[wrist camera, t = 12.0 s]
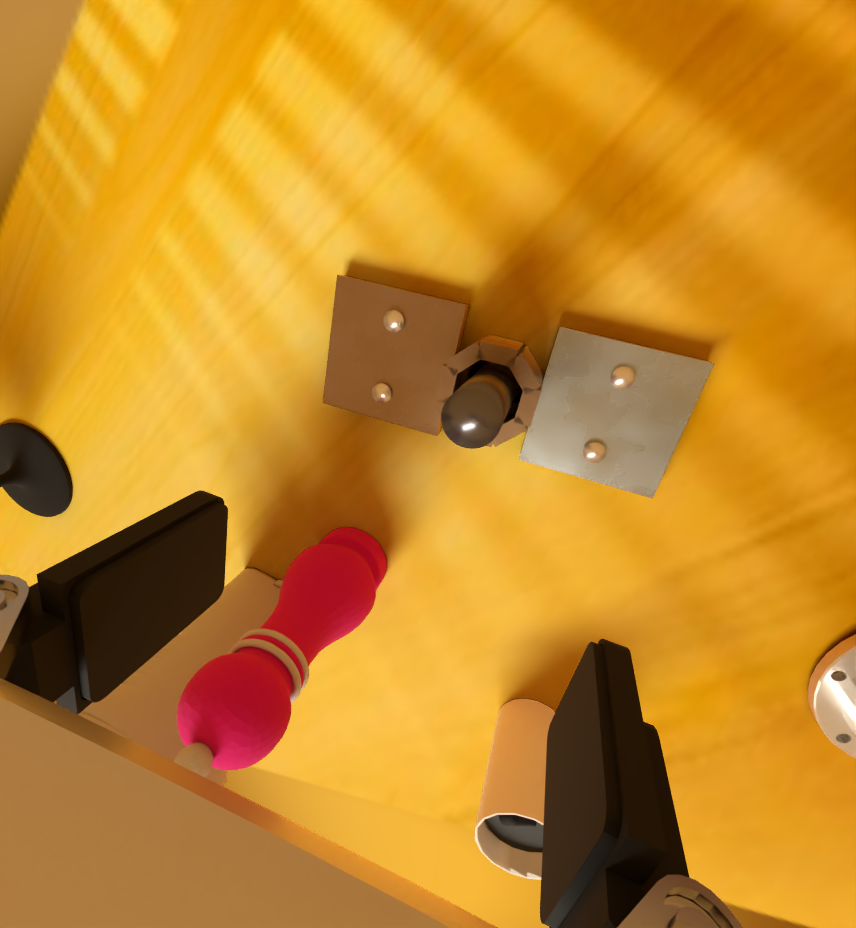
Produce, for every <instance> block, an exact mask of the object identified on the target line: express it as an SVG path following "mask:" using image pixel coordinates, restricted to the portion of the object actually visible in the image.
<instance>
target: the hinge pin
mask: <svg viewBox="0 0 856 928" xmlns="http://www.w3.org/2000/svg"><path fill="white" fill-rule="evenodd" d="M518 386H519V384H518V382H517V380H516V378H515V377H514V375H513V373H512V371H511V370H510V368H509V366H505V365H501V364H497V363H493V362H490V363H487V364H485V365H484V366H483V367H482V368H481V369H479V370H478V371H477V372H476V373H475V374H474V375H473V376H472V377H471V378H470V379H469V380H467V381H466V382H465V383H464V384H463V385H462V386H461V387H460V388H459V389H458V390H457V391H455V392H454V393H453V394H452V395H451V396H450V397H449V398H448V399H447V400H446V402H445V404H444V406H443V408H442V412H441V423H442V427H443V429H444V431H445V433H446V435H447V436H448V437H449V438H450V440H452V441H453V442H454V443H456V444H457V445H459V446H462V447H465V448H480V447H483V446H486V445H487V444H489V443H490V442H492V441H493V440H494V439H495V438H496V436H497V435H498V433H499V431H500V429H501V427H502V424H503V422H504V420H505V418H506V415H507V413H508V411H509V409H510V406H511V404H512V402H513V399H514V397H515V395H516V393H517V390H518Z"/></svg>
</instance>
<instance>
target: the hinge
mask: <svg viewBox="0 0 856 928" xmlns="http://www.w3.org/2000/svg"><path fill="white" fill-rule="evenodd" d="M468 309H469V305H468V304H464V303H459V302H455V301H451V300H446V299H442V298H438V297H434V296H429V295H425V294H421V293H417V292H412V291H408V290H404V289H400V288H395V287H391V286H387V285H383V284H378V283H374V282H370V281H366V280H361V279H357V278H353V277H349V276H343V275H337V282H336V291H335V300H334V308H333V317H332V326H331V335H330V343H329V352H328V361H327V370H326V379H325V387H324V396H323V403H325V404H329V405H332V406H336V407H339V408H342V409H346V410H349V411H353V412H356V413H360V414H363V415H367V416H370V417H373V418H377V419H380V420H384V421H387V422H391V423H394V424H398V425H401V426H405V427H408V428H411V429H415V430H418V431H422V432H425V433H429V434H432V435H436V436H437V435H438V434H439V433H440V431H441V427H442V423H441V412H442V408H443V406H444V404H445V402H446V400H447V399H448V398H449V397H450V396H451V395H452V394H453V393H454V392H455V391H457V390H458V389H459V388H460V387H461V386H462V385H463V384H464V383H465V382H466V381H467V377H468V373H469V369H470V366H471V365H472V364H474V363H476V362H477V361H479V360H481V359H482V360H486V361H490V362H493V363H497V364H501V365H505V366H509V368H510V370H511V371H512V373H513V375H514V377H515V378H516V380H517V382H518V384H519V385H520V387H521V389H522V391H523V393H522V396H521V399H520V402H519V403H518V404H516V405H514V406H512V407H510V409H509V411H508V413H507V415H506V418H505V420H504V422H503V424H502V427H501V429H500V431H499V433H498V435H497V436H496V438H495V439H494V440H493V441H492V442H490V443H489V444H487V445H486V446H489V447H491V446H492V444H494V445H495V447H496V446H498V445H500V444H501V443H503V442H505V441H507V440H509V439H511V438H513V437H515V436H517V435H519V434H521V433H523V432H525V431H527V434H526V437H525V440H524V443H523V446H522V450H521V453H520V457H519V460H522V461H525V462H529V463H532V464H536V465H539V466H542V467H546V468H549V469H553V470H556V471H560V472H563V473H567V474H570V475H573V476H577V477H580V478H584V479H587V480H591V481H594V482H598V483H601V484H605V485H608V486H611V487H615V488H618V489H622V490H625V491H629V492H632V493H636V494H639V495H642V496H646V497H649V498H653V496H654V494H655V492H656V490H657V487H658V485H659V483H660V481H661V479H662V477H663V474H664V472H665V470H666V468H667V466H668V463H669V461H670V459H671V457H672V455H673V453H674V450H675V448H676V446H677V444H678V442H679V439H680V437H681V435H682V433H683V431H684V429H685V426H686V424H687V422H688V420H689V418H690V415H691V413H692V411H693V409H694V407H695V405H696V402H697V400H698V398H699V396H700V394H701V391H702V389H703V387H704V385H705V383H706V381H707V378H708V376H709V374H710V372H711V370H712V367H713V365H714V363H712V362H709V361H706V360H702V359H698V358H693V357H689V356H685V355H681V354H676V353H672V352H668V351H664V350H659V349H655V348H651V347H647V346H642V345H638V344H634V343H630V342H625V341H621V340H617V339H612V338H608V337H604V336H600V335H595V334H591V333H587V332H583V331H578V330H574V329H570V328H566V327H561V326H560V327H559V331H558V334H557V337H556V340H555V343H554V347H553V350H552V353H551V356H550V359H549V363H548V366H547V369H546V372H545V376H544V378H543V373H542V371H541V369H540V367H539V365H538V364H537V362H536V360H535V358H534V356H533V355H532V353H531V351H530V349H529V347H528V346H527V345H526V346H525V347H523V344H524V343H523V342H519V341H515V340H511V339H507V338H503V337H499V336H495V335H490V336H488V335H487V336H486V337H484V338H482V339H480V340H478V341H476V342H475V343H473V344H472V345H470V346H468V347H467V348H465V349H464V350H462V351H461V352H459V349H460V344H461V340H462V336H463V331H464V327H465V323H466V318H467V314H468ZM528 426H529V427H528ZM527 429H528V430H527Z"/></svg>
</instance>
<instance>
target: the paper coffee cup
mask: <svg viewBox="0 0 856 928" xmlns="http://www.w3.org/2000/svg"><path fill="white" fill-rule="evenodd" d="M554 714H555V712H554V711H553V710H552V709H551V708H550V707H548V706H546V705H545V704H543V703H541V702H539V701H534V700H530V699H515V700H512V701H510V702H508V703H506V704H504V705H503V706H502V708H501V709H500V710H499V712H498V717H497V722H496V727H495V732H494V737H493V742H492V747H491V752H490V757H489V762H488V767H487V772H486V777H485V782H484V787H483V791H482V796H481V801H480V806H479V811H478V816H477V821H476V826H475V841H476V843H477V845H478V847H479V849H480V851H481V852H482V853H483V854H484V855H485V856H486V857H487V858H488V859H489V860H490V861H491V862H492V863H493V864H495V865H496V866H498V867H500V868H502V869H503V870H505V871H507V872H508V873H511V874H514V875H517V876H521V877H524V878H527V879H541V875H542V850H543V826H544V801H545V776H546V751H547V735H548V730H549V726H550V723H551V721H552V718H553V716H554Z"/></svg>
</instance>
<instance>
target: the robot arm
mask: <svg viewBox="0 0 856 928" xmlns="http://www.w3.org/2000/svg"><path fill="white" fill-rule="evenodd" d="M227 519H228V508H227V506H225V505H224V501H223V499H222V498H221V497H218V496H215V495H213V494H210V493H207V492H205V491H197V492H195V493H193V494H191V495H189V496H187V497H185V498H183V499H181V500H179V501H177V502H175V503H174V504H172V505H170V506H168V507H166V508H164V509H162V510H160V511H158V512H156V513H154V514H152V515H150V516H148V517H147V518H145V519H143V520H141V521H139V522H137V523H135V524H133V525H131V526H129V527H127V528H125V529H123V530H122V531H120V532H118V533H116V534H114V535H112V536H110V537H108V538H106V539H104V540H102V541H100V542H98V543H96V544H95V545H93V546H91V547H89V548H87V549H85V550H83V551H81V552H79V553H77V554H75V555H73V556H71V557H70V558H68V559H66V560H64V561H62V562H60V563H58V564H56V565H54V566H52V567H50V568H48V569H46V570H44V571H43V572H41V573H39V574H37V579H38V583H36V584H34V585H32V586H31V587H29V586H28V585H27V583H26V581H24V580H22V579H21V578H19V577H15V576H10V575H0V928H497V927H495V926H494V925H492V924H490V923H488V922H486V921H484V920H482V919H480V918H479V917H477V916H475V915H473V914H471V913H469V912H467V911H465V910H464V909H462V908H460V907H458V906H456V905H454V904H452V903H450V902H449V901H447V900H445V899H443V898H441V897H439V896H437V895H435V894H434V893H431V892H430V891H428V890H426V889H424V888H422V887H420V886H418V885H417V884H415V883H413V882H411V881H409V880H407V879H405V878H403V877H401V876H399V875H397V874H395V873H393V872H391V871H389V870H387V869H385V868H383V867H381V866H379V865H377V864H375V863H373V862H371V861H369V860H367V859H365V858H363V857H362V856H360V855H358V854H356V853H354V852H352V851H349V850H348V849H346V848H344V847H342V846H340V845H338V844H336V843H334V842H332V841H330V840H328V839H326V838H324V837H322V836H320V835H318V834H316V833H314V832H312V831H310V830H308V829H306V828H305V827H302V826H300V825H299V824H297V823H295V822H292V821H291V820H289V819H287V818H285V817H283V816H281V815H279V814H277V813H275V812H272V811H271V810H269V809H267V808H265V807H263V806H261V805H259V804H257V803H255V802H253V801H250V800H249V799H247V798H245V797H243V796H241V795H239V794H237V793H235V792H233V791H231V790H229V789H227V788H225V787H223V786H221V785H219V784H217V783H215V782H213V781H211V780H209V779H207V778H205V777H203V776H201V775H199V774H197V773H195V772H193V771H191V770H189V769H187V768H185V767H183V766H181V765H179V764H177V763H175V762H173V761H171V760H169V759H167V758H165V757H163V756H161V755H159V754H157V753H155V752H153V751H151V750H149V749H147V748H145V747H143V746H141V745H139V744H137V743H135V742H133V741H130V740H128V739H126V738H124V737H122V736H120V735H118V734H116V733H114V732H112V731H110V730H108V729H106V728H104V727H102V726H100V725H98V724H96V723H94V722H92V721H90V720H88V719H86V718H84V717H82V716H80V715H78V714H79V713H81V712H82V711H83V710H84V709H85V708H86V707H88V706H89V705H90V704H91V703H92V702H94V703H95V702H99V701H101V700H103V699H104V698H105V697H107V696H108V695H109V694H110V693H111V692H112V691H113V690H115V689H116V688H117V687H118V686H119V685H120V684H122V683H123V682H124V681H125V680H126V679H127V678H128V677H130V676H131V675H132V674H133V673H134V672H135V671H137V670H138V669H139V668H140V667H141V666H142V665H144V664H145V663H146V662H147V661H148V660H149V659H150V658H152V657H153V656H154V655H155V654H156V653H157V652H159V651H160V650H161V649H162V648H163V647H164V646H165V645H167V644H168V643H169V642H170V641H171V640H172V639H174V638H175V637H176V636H177V635H178V634H179V633H181V632H182V631H183V630H184V629H185V628H186V627H187V626H189V625H190V624H191V623H192V622H193V621H194V620H196V619H197V618H198V617H199V616H200V615H201V614H203V613H204V612H205V611H206V610H207V609H208V608H209V607H211V606H212V605H213V604H214V603H215V602H216V601H217V600H218V599H219V598H220V596H221V595H222V593H223V590H224V580H225V560H226V540H227ZM55 700H57V704H55V703H53V702H54V701H55ZM808 700H809V706H810V708H811V711H812V713H813V716H814V718H815V719H816V721H817V723H818V724H819V726H820V727H821V729H822V731H823V732H824V734H825V735H826V736H827V737H828V738H829V739H830V741H831V742H832V743H833V744H835V745H836V746H837V747H839V748H840V749H841V750H843V751H844V752H845V753H847V754H848V755H850V756H852V757H854V758H856V634H855V635H853V636H851V637H849V638H847V639H845V640H844V641H842V642H840V643H839V644H838V645H836V646H835V647H834V648H833V649H831V650H830V651H829V652H828V653H827V654H826V655H825V656H824V657H823V658H822V660H821V661H820V662H819V663H818V664H817V666H816V668H815V670H814V672H813V674H812V676H811V678H810V682H809V687H808ZM540 917H541V922H542V923H543V924H545V925H547V926H549V928H743V927H742V925H741V924H740V923H739V921H738V920H737V919H736V917H735V916H734V915H733V913H732V912H731V911H730V909H729V908H728V907H727V906H726V905H725V904H724V903H723V902H722V901H721V900H720V899H719V898H718V897H717V896H716V895H715V894H714V893H713V892H712V891H711V890H709V889H708V888H706V887H705V886H703V885H702V884H701V883H699V882H698V881H696V880H694V879H691V878H689V874H688V869H687V864H686V860H685V855H684V851H683V846H682V841H681V837H680V832H679V827H678V823H677V818H676V814H675V809H674V804H673V800H672V795H671V790H670V786H669V781H668V777H667V772H666V767H665V763H664V758H663V753H662V749H661V744H660V739H659V736H658V733H657V730H656V729H655V727H654V726H653V725H650V724H648V723H645V722H643V718H642V712H641V707H640V702H639V696H638V691H637V685H636V680H635V675H634V669H633V664H632V659H631V653H630V650H629V649H628V648H626V647H623V646H621V645H618V644H615V643H613V642H610V641H607V640H605V639H601V640H600V641H599V642H598V644H596V643H593V642H590V643H589V645H588V646H587V648H586V650H585V652H584V655H583V657H582V659H581V661H580V663H579V665H578V667H577V669H576V671H575V673H574V675H573V677H572V679H571V681H570V683H569V685H568V688H567V690H566V692H565V694H564V696H563V698H562V700H561V702H560V704H559V706H558V708H557V710H556V712H555V714H554V716H553V718H552V721H551V723H550V726H549V730H548V735H547V751H546V776H545V801H544V826H543V850H542V875H541V901H540Z"/></svg>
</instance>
